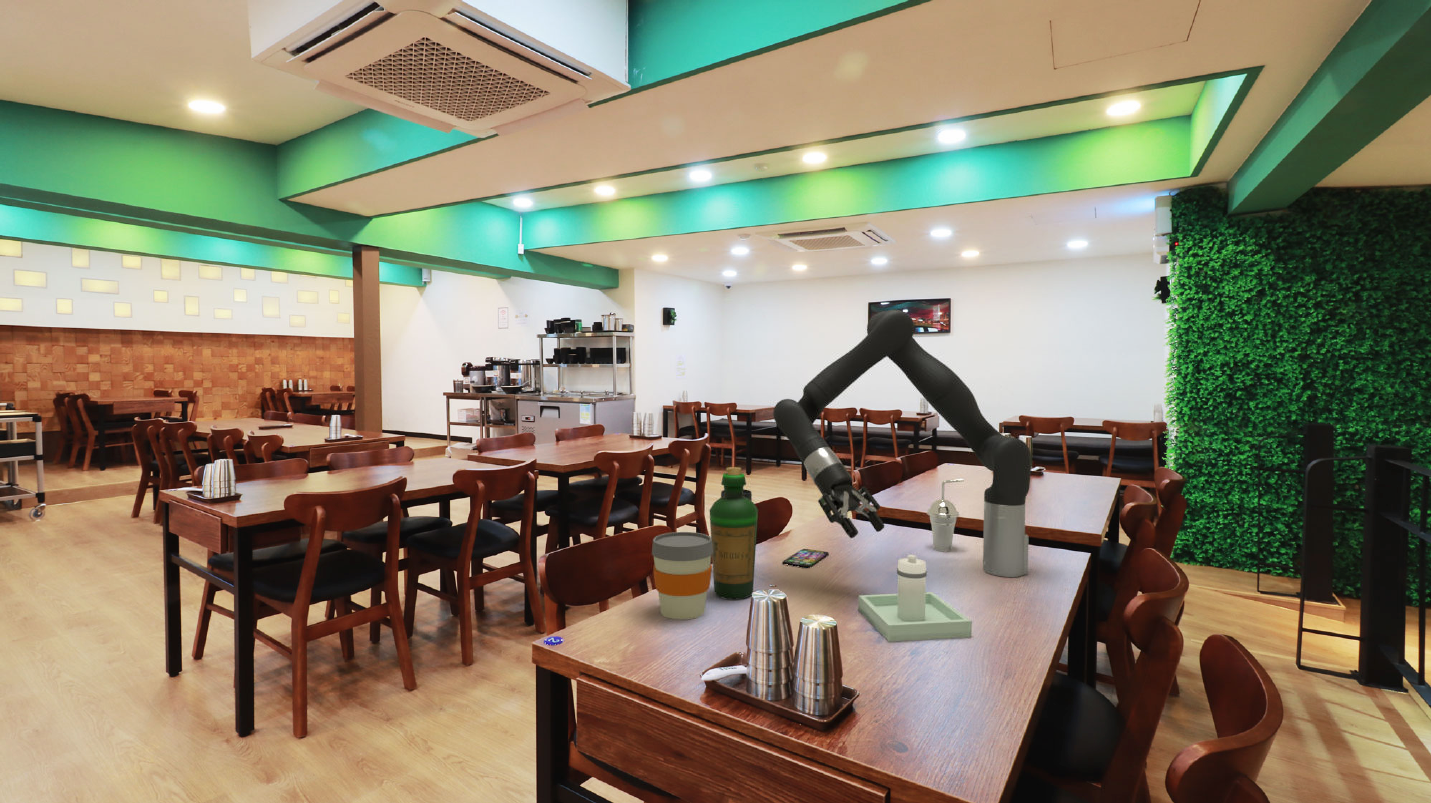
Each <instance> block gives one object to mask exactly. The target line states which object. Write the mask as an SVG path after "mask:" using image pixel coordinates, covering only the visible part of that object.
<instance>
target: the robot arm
mask: <svg viewBox="0 0 1431 803" xmlns="http://www.w3.org/2000/svg"><path fill="white" fill-rule="evenodd" d="M912 318H913V317H911V316H910V315H909V314H908V313H906V312H905V311H903V310H898V309H889V310H884V311H880V312H877V313H875V314H874V315H872V317H870V319H869V320H868V323H867V325H866V332H867V335H866V336H865V337H864V338H863V339H862V340H861V341H860V342H859V343H858V344H857V345H855V346H854V347H853V348H852V349H851V350H849V351H848V352H846V353H845V354H844V355H842V356H840V357H839V358H838V359H836V360H835V361H833V362H831V363H830V364H829V365H827V366H826V367H825V368H823V370H821V371H819V373H818V374H817V375H816V376H815V377H813V378H811V380H810V381H809V382H807V384H806V385H805V386H804V387H803V389H802V390H803V392H802V394H803V395H802V397H801V398H800V399H799V400H798V401H796V400H794V399H792V398H791V399H790V398H783V399H781V400H780V401H778V402H777V403H775V404H776V405H775V406H774V407H773V419H774V421H775V423H776V425H777V426H778V428H779V429H780V430H781V432H782V433H783V434H784V435H785V437H786V439H787V440H788V441H789V442H790V444H791V446H792V447H793V449H794V450H795V453H796V455H797V456H798V458H799V459H800V461H801V462H802V464H803V465H804V467H805V470H806V471H807V473H808V475H809V477H810V478H811V480H812V482H814V484H815V486H816V488H817V489H818V490H819V492H820V493H821V496H820V498H819V499H818V500H817V502H818V505H819V506H820V508H821V509H822V511H823V513H824V514H825V516H826V518H827V519H828V521H829V522H830V523H831V524H834V523H837V524H838V525H840V526H841V527H842V529H843V531H844V532H845V534H846V535H847V536H848V537H849V538H850V539H852V538H853V539H854V538H855V537H857V535H858V534H859V530H858V529H857V528H856V526H855V525H854V523H853V521H852V520H851V519H850V517H848V513H849V512H856V513H857V514H862V515H863V516H865V517H867V520H868V521H869V523H870V524H871V526H872V527H873V529H874V531H875V532H876V533H878V532H881V531H882V530H883V529H884V528H885V524H884V522H883V520H882V518H881V517H880V516H879V515H878V513H877V511H878V510H879V509H881V505H880V504H879V503H878V501H877V499H876V498H874V496H873V495H872V493H871V492H870V491H869V490H868V488H867V487H866V486H862V487H861V488H860V489H857V488H855V487H854V485H853V481H854V480H853V478H852V475H851V474H850V473H849V471H848V470H847V468H846V467H845V465H844V464H843V463H842V461H841V460H840V458H839V457H838V455H837V454H836V453H835V452H834V451H833V450H832V449H831V447H830V446H829V445H828V443H827V442H826V440H825V439H824V437H823V436H822V435H821V434H820V432H818V430H817V429H816V428H815V426H814V425H813V424H814V423H815V421H817V419H818V417H819V416H820V415H821V414H822V413H823V411H824V409H825V408H827V407H828V406H829V405H830V404H831V403H833V402H834V401H835V400H836V399H837V398H838V397H839V396H840V395H842V393H843V392H845V391H846V390H847V389H848V388H849V387H850V386H852V385H853V383H855V382H856V381H857V380H858V379H859V378H861V376H862V375H864V374H865V373H867V371H869V370H870V369H872V368H873V367H874V366H875V365H877V364H878V363H879V362H881V361H882V360H884V359H885V358H888V359H889V360H890V361H892V363H894V365H896V366H897V367H898V369H900V370H901V371H902V373H903V374H904V375H905V376H906V377H907V379H908V380H909V381H910V383H911V384H912V385H913V386H914V387H915V389H916V390H917V391H918V392H919V393H920V395H921V396H923V398H924V399H925V400H926V401H927V403H928V404H929V405H930V406H931V408H933V409H934V410H935V411H936V413H938V414H939V415H940V416H941V417H942V418H943V419H944V420H945V422H947V424H948V425H949V426H951V428H952V429H953V430H954V431H955V432H957V434H959V435H960V437H962V439H963V440H964V441H965V443H966V444H967V445H968V446H969V448H970V449H971V451H972V452H973V453H974V455H975V456H976V458H977V459H978V461H979V462H980V463H981V464H982V465H983V466H984V467H985V469H987V470H990V471H991V472H993V473H992V484H991V485H990V487H988V488H986V489H985V490H984V492H983V493H984V494H983V500H984V501H983V540H982V541H983V545H982V546H983V547H982V548H983V549H982V550H983V551H982V553H983V555H982V570H983V572H985V573H987V574H990V575H993V576H998V577H1004V578H1006V577H1007V578H1018V577H1022V576H1024V575H1028V574H1029V537H1030V536H1029V535H1028V534H1026V498H1027V495H1028V493H1029V492H1030V491H1029V490H1030V485H1031V484H1030V483H1031V471H1032V468H1031V467H1032V455H1031V450H1030V448H1029V446H1028V444H1027V443H1026V442H1025V441H1024V440H1021V439H1019V438H1016V437H1011V436H1006V435H1003V434H1002V433H1001V432H1000V431H998V430H997V429H996V428H995V427H994V426H993V425H992V424H991V423H990V422H989V421H988V420H987V419H986V418H985V416H984V415H983V414H982V412H981V409H980V408H979V405H978V403H977V399H976V397H975V396H974V394H973V392H972V391H971V389H970V388H969V387H968V386H967V385H966V383H965V382H964V381H963V380H962V379H961V378H960V377H959V376H958V374H957V373H955V372H954V370H952V369H951V368H950V367H949V366H948V365H946V364H945V363H943V362H942V361H941V360H939V359H938V358H936V356H935V357H934V356H933V355H932V354H930V353H929V352H927V351H926V350H925V349H924V348H923V347H922V346H921V345H920V344H919V343H918V341H916V339H915V338H914V337H913V336H914V333H915V323H914V320H913V319H912ZM870 503H871V504H870Z"/></svg>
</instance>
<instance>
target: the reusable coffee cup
mask: <svg viewBox="0 0 1431 803" xmlns="http://www.w3.org/2000/svg"><path fill="white" fill-rule="evenodd" d="M651 548H652V549H651V555H652V556H653V560H654V561H653V562H654V564H653V566H652V567H653V568H652V569H653V577H654V578H653V579H654V584H655V589H656V592H658V598H659V599H658V600H659V601H658V602H659V606H660V613H661V615H662V616H664V617H665V618H668V619H672V620H678V621H680V620H682V621H683V620H693V619H696V618H699V617H701V616H703V615H704V614H705V611H706V610H705V609H706V601H707V593H708V590H709V589H710V586H711V579H712V572H713V564H712V563H711V562H712V554H713V545H712V538H711V535H710V536H709V535H707V534H705V533H700V532H695V531H694V532H693V531H676V532H667V533H663V534H659V535H656V536H655V537H654V538H653V539H652V547H651ZM702 614H703V615H702Z"/></svg>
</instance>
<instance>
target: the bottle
mask: <svg viewBox="0 0 1431 803" xmlns="http://www.w3.org/2000/svg"><path fill="white" fill-rule="evenodd" d="M725 469H726V472H724V473H723V474H722V478H721V479H722V480H721V485H722V486H723V490H724V494H725V496H723V497H721V496H720V497H719V498H718V499H716V501H715V502H713V504H712V506H711V507H710V509H709V524H710V526H709V527H710V537H711V538H712V545H713V554H712V555H711V562H712V576H713V577H712V578H713V592H714V594H716V596H718V597H720V598H722V597H723V599H725V598H726V600H742V599H741V598H743V599H745V597H746V598H747V596H748V597H750V596H752V595H753V593H752V592H754V581H755V565H756V564H755V563H756V551H757V550H756V549H757V546H756V545H757V532H758V531H757V530H758V516H759V514H758V513H759V509H758V507H757V506H756V504H755V503H754V502H753V500H752V501H751V500H749V499H748V498H746V497H744V496H743V489H744V486H746V485H747V481H746V476H745V473H744V472H743V473H742V472H741V471H742V467H738V466H737V467H736V466H729V467H726V468H725ZM751 594H752V595H751Z"/></svg>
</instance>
